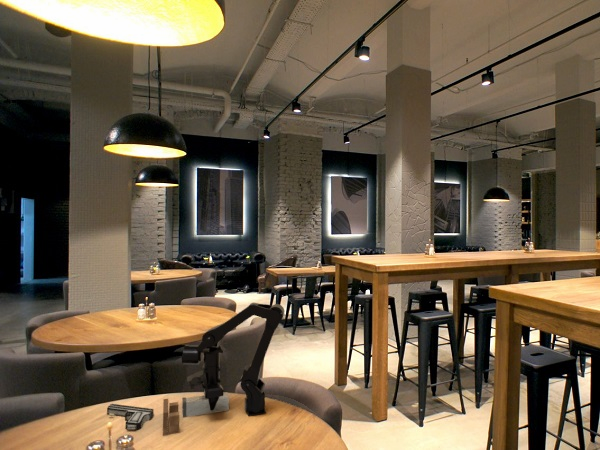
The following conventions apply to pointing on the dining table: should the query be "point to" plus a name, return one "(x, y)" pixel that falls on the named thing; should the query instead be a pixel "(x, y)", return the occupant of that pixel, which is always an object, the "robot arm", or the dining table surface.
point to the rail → (203, 405)
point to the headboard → (170, 417)
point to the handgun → (131, 415)
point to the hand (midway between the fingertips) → (211, 407)
